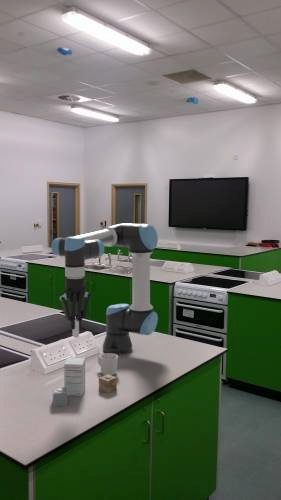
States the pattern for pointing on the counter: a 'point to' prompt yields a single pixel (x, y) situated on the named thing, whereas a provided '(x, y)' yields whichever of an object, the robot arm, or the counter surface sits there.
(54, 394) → the slate block
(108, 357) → the cup
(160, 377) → the counter surface
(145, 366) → the counter surface
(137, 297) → the robot arm
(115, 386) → the beige speckled cube
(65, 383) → the miniature drawer cabinet
